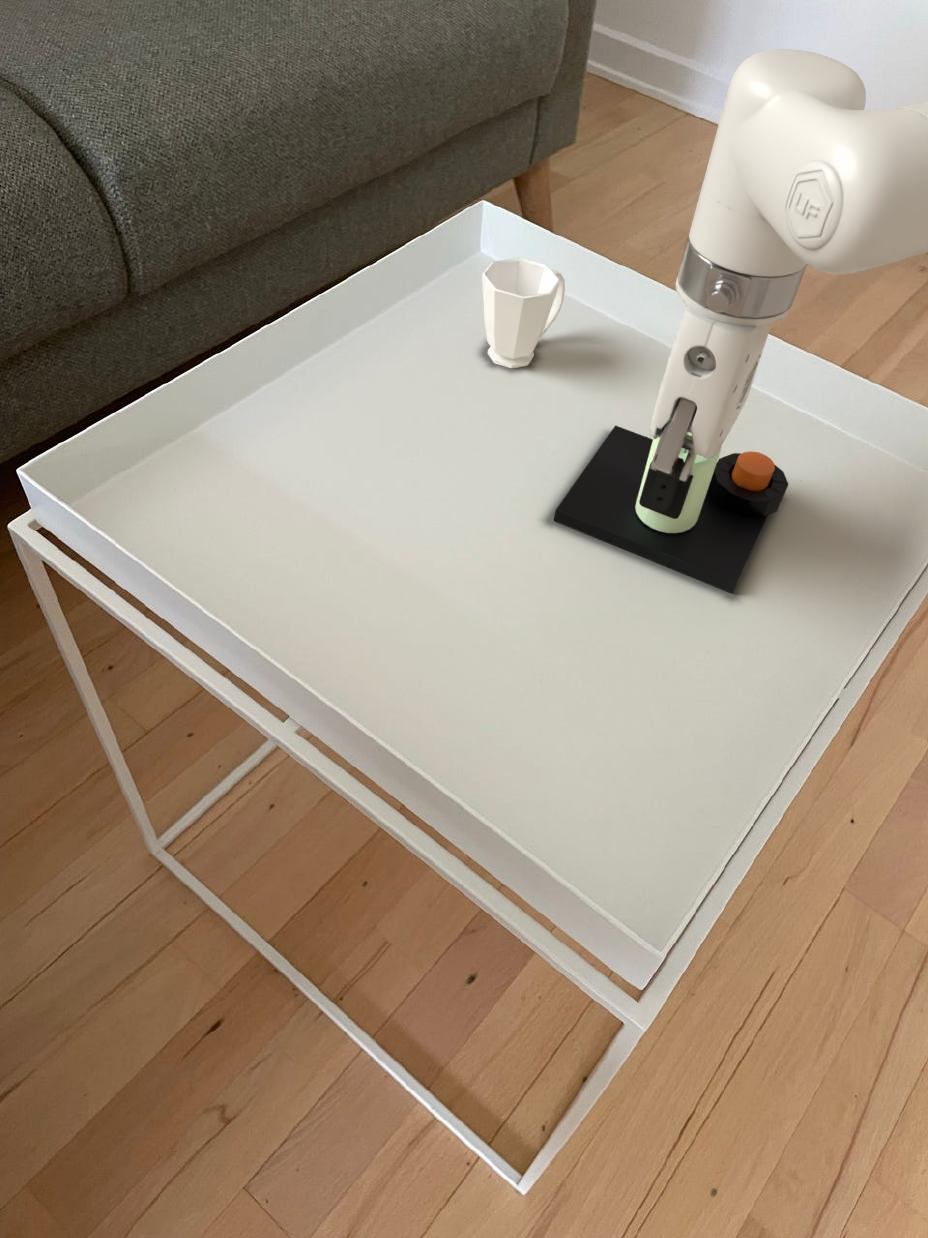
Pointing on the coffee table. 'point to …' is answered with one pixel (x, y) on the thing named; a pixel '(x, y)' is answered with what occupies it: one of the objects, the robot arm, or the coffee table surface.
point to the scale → (699, 552)
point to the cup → (519, 308)
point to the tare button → (753, 471)
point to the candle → (694, 498)
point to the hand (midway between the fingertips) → (670, 490)
